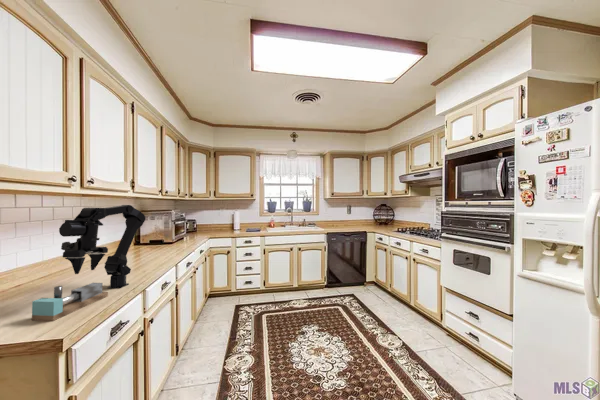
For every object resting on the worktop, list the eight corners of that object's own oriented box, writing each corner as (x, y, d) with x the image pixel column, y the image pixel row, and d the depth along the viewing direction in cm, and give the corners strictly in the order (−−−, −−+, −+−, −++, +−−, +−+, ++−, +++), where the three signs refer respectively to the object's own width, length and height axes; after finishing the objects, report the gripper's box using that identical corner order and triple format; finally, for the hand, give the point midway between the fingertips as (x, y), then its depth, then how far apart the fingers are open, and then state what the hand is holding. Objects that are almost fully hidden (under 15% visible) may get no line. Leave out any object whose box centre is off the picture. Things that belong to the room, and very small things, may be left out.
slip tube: (77, 297, 102) (78, 278, 102) (84, 297, 102) (85, 279, 102) (43, 311, 89) (43, 290, 89) (50, 311, 89) (51, 290, 89)
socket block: (41, 311, 91) (42, 297, 91) (62, 311, 91) (62, 298, 91) (31, 315, 88) (32, 301, 88) (53, 315, 87) (53, 301, 88)
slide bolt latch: (90, 295, 111) (91, 281, 111) (107, 296, 111) (108, 282, 111) (31, 320, 88) (32, 302, 88) (53, 320, 87) (53, 303, 88)
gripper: (84, 234, 117) (81, 268, 116) (50, 236, 99) (45, 276, 97) (110, 235, 119) (106, 268, 117) (80, 236, 100) (75, 276, 99)
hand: (84, 271), depth 107 cm, fingers open, 9 cm apart
